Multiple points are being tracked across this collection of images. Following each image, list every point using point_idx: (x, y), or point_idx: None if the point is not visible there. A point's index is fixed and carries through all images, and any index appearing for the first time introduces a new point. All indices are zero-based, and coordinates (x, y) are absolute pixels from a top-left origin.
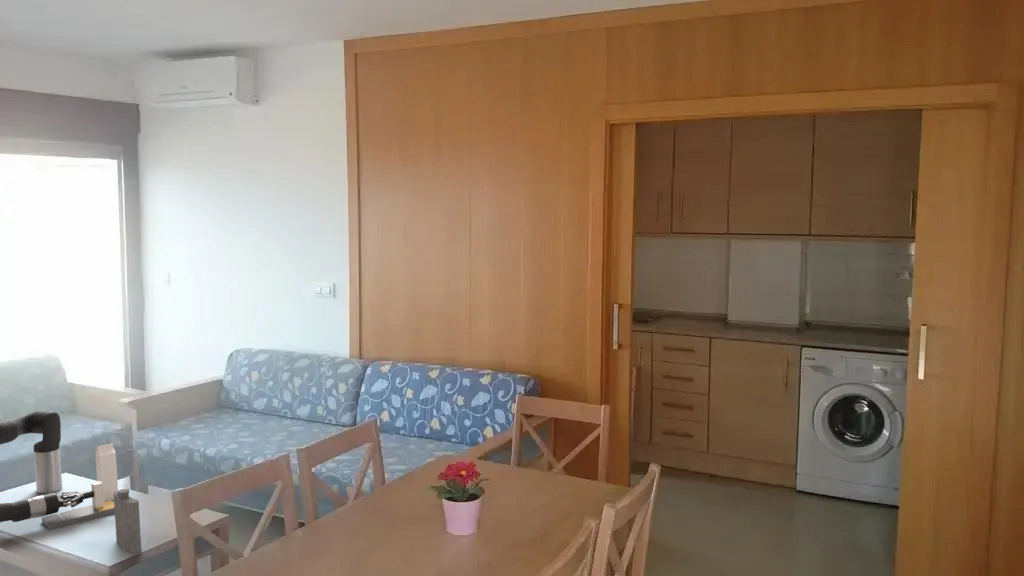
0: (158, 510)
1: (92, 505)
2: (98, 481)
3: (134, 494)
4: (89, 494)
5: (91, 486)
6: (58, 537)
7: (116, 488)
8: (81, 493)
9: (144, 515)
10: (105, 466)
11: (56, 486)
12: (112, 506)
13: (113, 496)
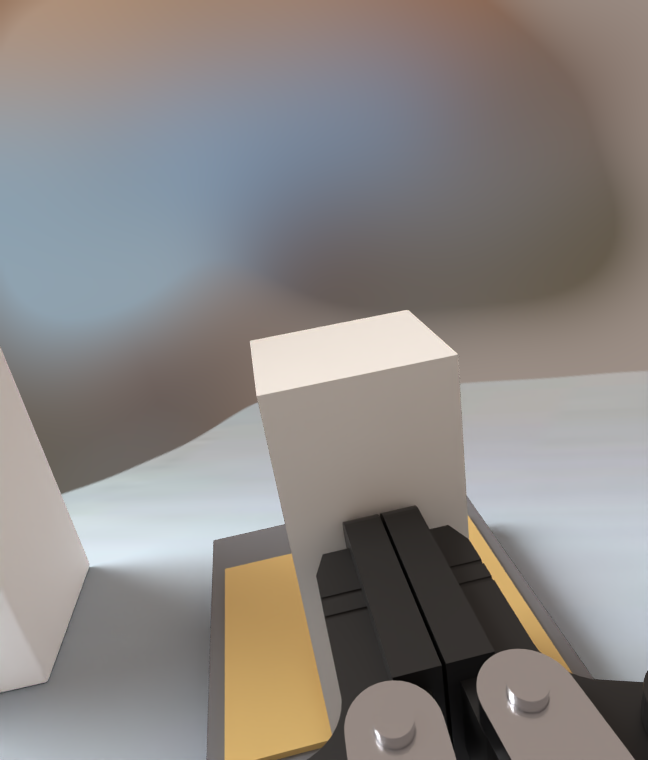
0: (547, 393)
1: (257, 755)
2: (273, 343)
3: (116, 488)
4: (484, 573)
5: (273, 467)
6: None
7: (54, 493)
8: (511, 675)
9: (633, 434)
10: None
11: None
12: None
13: (70, 572)
